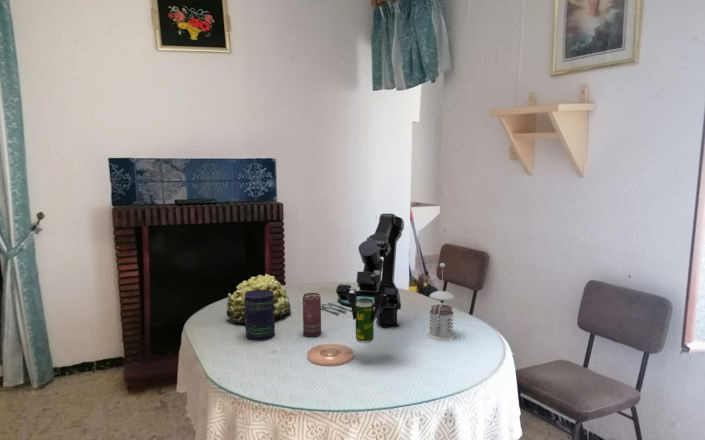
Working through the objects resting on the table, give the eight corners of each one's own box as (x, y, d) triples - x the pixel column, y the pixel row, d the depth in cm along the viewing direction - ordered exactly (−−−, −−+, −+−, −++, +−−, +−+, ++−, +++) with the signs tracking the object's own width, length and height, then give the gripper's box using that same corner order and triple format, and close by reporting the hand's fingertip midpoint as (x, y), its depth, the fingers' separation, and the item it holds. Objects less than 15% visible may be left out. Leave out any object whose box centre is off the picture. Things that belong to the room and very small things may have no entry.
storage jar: (261, 343, 162) (259, 299, 160) (239, 337, 167) (237, 294, 165) (281, 334, 170) (280, 291, 169) (259, 329, 176) (258, 287, 174)
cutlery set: (395, 302, 207) (395, 296, 207) (339, 318, 188) (339, 313, 188) (363, 292, 222) (363, 287, 222) (309, 307, 203) (308, 301, 203)
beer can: (364, 335, 150) (364, 296, 149) (377, 339, 147) (377, 300, 145) (351, 340, 147) (351, 300, 145) (365, 345, 143) (364, 304, 141)
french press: (458, 332, 171) (460, 261, 168) (450, 344, 160) (452, 268, 157) (431, 328, 175) (432, 259, 172) (421, 339, 165) (422, 265, 161)
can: (319, 338, 166) (318, 297, 165) (301, 336, 168) (300, 296, 166) (323, 331, 172) (323, 292, 170) (306, 330, 174) (305, 291, 172)
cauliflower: (295, 323, 181) (294, 281, 179) (227, 329, 175) (225, 286, 173) (287, 304, 205) (286, 266, 203) (226, 308, 200) (225, 270, 197)
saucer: (344, 345, 160) (344, 341, 160) (359, 361, 147) (359, 357, 147) (302, 351, 156) (302, 347, 155) (314, 369, 142) (314, 364, 142)
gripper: (337, 258, 150) (326, 304, 141) (398, 261, 145) (391, 309, 136) (345, 277, 158) (335, 322, 149) (403, 280, 153) (396, 327, 144)
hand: (363, 320), depth 144 cm, fingers closed on beer can, 5 cm apart
